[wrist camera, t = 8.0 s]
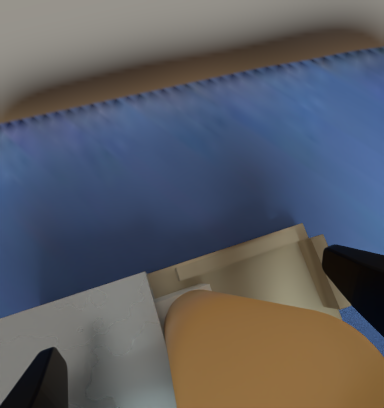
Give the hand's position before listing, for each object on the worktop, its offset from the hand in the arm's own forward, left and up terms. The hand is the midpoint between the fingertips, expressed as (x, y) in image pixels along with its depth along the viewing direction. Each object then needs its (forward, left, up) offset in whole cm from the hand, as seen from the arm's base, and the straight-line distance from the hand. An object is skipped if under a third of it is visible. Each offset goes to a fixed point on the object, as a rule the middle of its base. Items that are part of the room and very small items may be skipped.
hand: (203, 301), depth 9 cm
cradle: (+1, -3, -8) cm, 9 cm away
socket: (-4, +2, -8) cm, 9 cm away
